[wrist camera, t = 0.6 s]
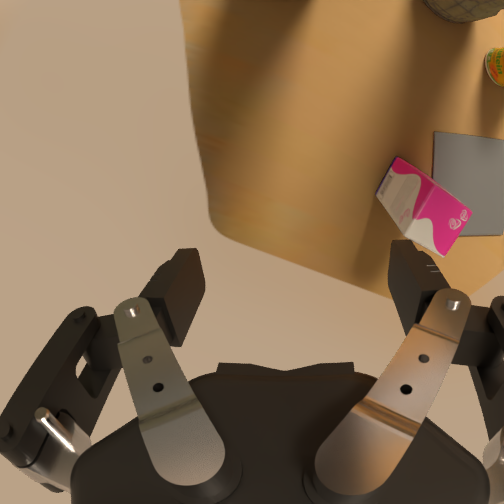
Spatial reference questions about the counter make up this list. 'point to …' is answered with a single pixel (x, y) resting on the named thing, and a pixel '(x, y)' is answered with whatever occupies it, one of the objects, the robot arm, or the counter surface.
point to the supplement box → (422, 207)
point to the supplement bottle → (495, 65)
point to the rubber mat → (473, 178)
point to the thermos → (465, 9)
